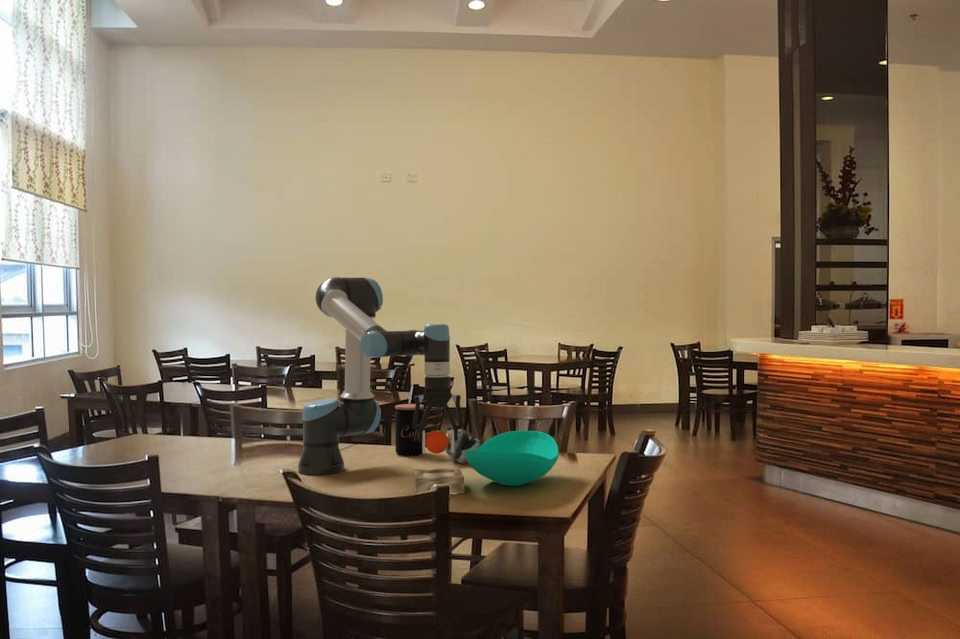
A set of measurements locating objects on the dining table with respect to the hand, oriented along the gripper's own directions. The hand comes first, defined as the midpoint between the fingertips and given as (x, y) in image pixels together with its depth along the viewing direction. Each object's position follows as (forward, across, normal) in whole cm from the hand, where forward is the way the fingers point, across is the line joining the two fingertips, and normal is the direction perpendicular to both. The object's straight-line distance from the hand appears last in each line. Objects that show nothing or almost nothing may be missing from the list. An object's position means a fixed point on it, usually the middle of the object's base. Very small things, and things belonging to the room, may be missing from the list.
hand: (438, 452), depth 235 cm
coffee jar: (+11, -7, +59) cm, 60 cm away
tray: (+11, 0, 0) cm, 11 cm away
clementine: (+1, 0, 0) cm, 1 cm away
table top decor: (+11, +23, +4) cm, 26 cm away
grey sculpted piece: (+11, +12, +40) cm, 44 cm away
